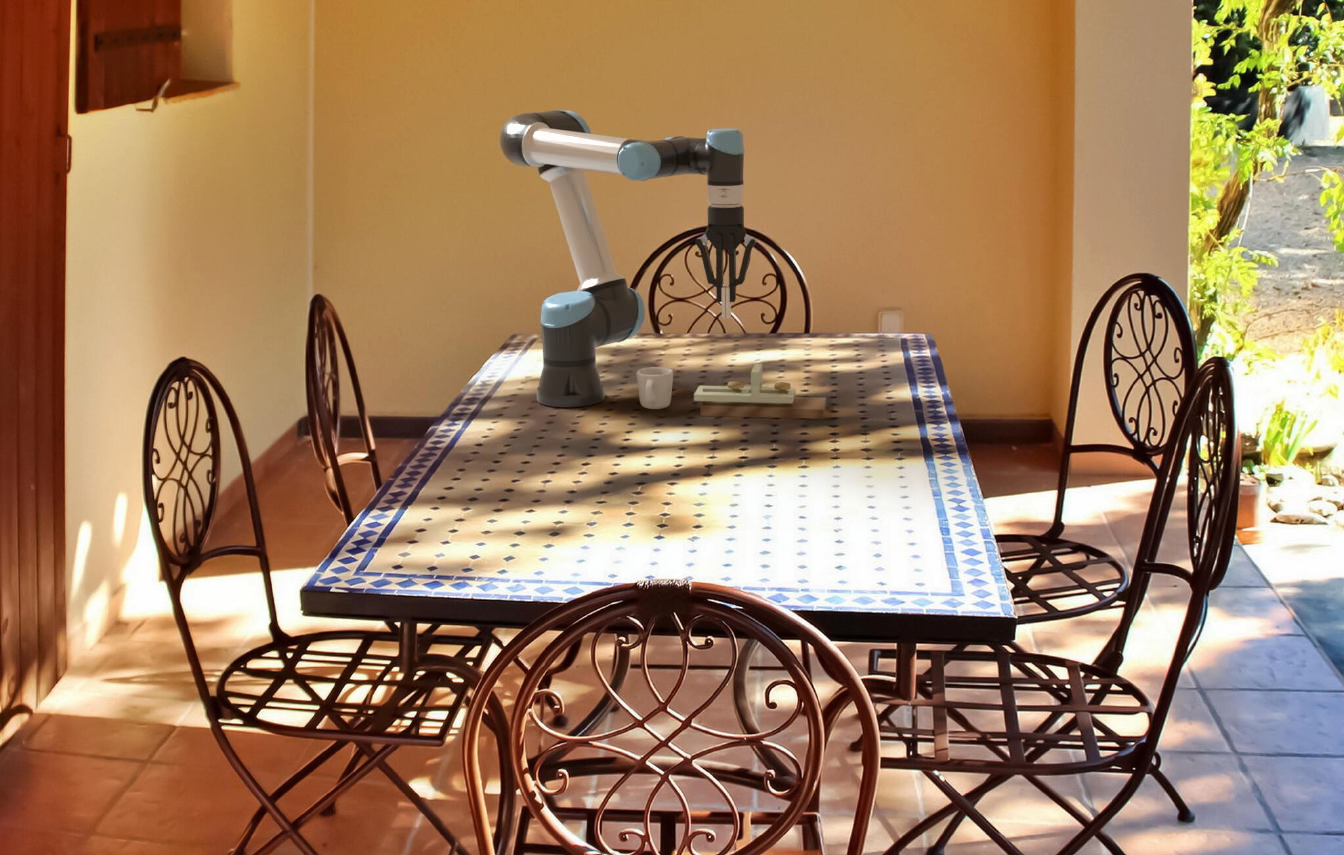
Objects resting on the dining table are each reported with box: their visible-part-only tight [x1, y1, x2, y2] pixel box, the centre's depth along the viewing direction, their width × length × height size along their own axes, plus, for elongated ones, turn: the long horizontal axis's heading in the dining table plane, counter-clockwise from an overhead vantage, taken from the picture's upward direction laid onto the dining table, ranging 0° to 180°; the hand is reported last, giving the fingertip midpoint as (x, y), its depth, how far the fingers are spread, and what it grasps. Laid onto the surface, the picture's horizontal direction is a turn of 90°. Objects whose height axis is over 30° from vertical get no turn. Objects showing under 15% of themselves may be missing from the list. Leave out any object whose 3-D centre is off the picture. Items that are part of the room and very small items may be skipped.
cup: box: [636, 366, 674, 410], centre depth 311 cm, size 11×8×8 cm
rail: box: [699, 380, 827, 420], centre depth 308 cm, size 26×10×6 cm, turn 81°
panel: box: [693, 363, 797, 403], centre depth 307 cm, size 21×8×7 cm, turn 81°
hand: (726, 317), depth 304 cm, fingers closed
